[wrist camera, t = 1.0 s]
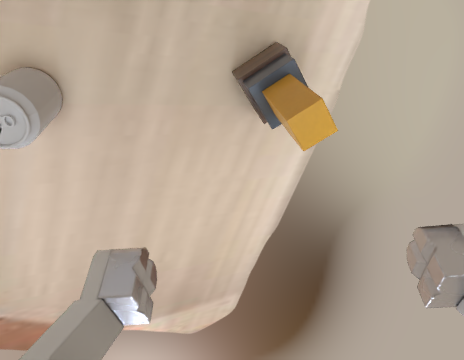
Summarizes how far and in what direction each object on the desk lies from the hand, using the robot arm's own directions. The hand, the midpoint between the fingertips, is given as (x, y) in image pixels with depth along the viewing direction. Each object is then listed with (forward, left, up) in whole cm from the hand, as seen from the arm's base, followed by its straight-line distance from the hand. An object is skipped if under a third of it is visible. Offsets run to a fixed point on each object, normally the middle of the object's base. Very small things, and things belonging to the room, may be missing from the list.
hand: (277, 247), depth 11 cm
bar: (+8, +8, -35) cm, 36 cm away
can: (-2, -23, -44) cm, 50 cm away
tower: (+8, +8, -44) cm, 45 cm away
